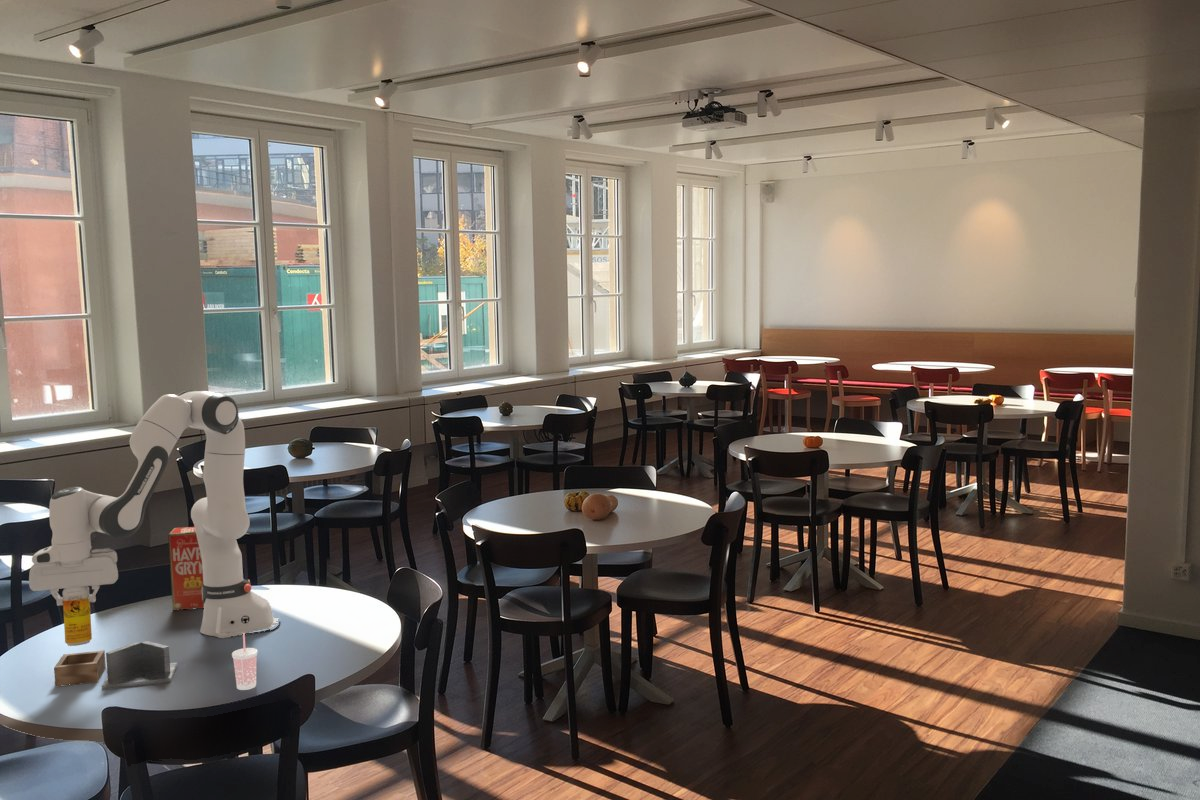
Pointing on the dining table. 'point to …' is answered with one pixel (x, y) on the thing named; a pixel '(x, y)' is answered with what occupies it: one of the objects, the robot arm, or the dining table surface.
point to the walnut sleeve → (80, 668)
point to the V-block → (138, 665)
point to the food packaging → (185, 569)
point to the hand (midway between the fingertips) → (76, 603)
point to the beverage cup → (245, 667)
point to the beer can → (77, 615)
